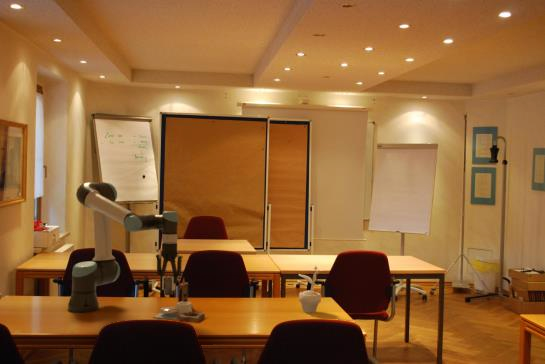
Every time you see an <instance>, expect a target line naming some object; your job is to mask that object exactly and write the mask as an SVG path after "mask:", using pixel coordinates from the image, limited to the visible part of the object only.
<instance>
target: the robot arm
mask: <svg viewBox="0 0 545 364" xmlns="http://www.w3.org/2000/svg"><path fill="white" fill-rule="evenodd" d="M75 195H76V200H77V201H78V202H79V203H80V204H82V206H84V207H86V208H88V209H90V210H92V211H93V231H94V233H93V234H94V235H93V236H94V257H93V258H92V260H90V261H89V260H88V261H81V262H78V263H75V264H74V265H73V267H72V272H71V275H72V276H71V278H72V279H71V281H72V282H71V284H72V285H71V295H70V298H69V301H68V303H67V310H68V311H70V312H73V313H89V312H94V311H97V310H99V309H100V302H99V300H98V297H97V287H98V286H102V285H108V284H112V283H114V282H116V281H117V279H118V278H119V276H120V274H121V268H120V264H119V262H117V261H116V257H115V256H114V255H113V254H112V253H113V251H112V249H113V248H112V246H113V245H112V224H111V221H112V220H114V221H116V222H117V223H119V224H121V225H123V226H124V229H125V230H126V231H127V232H130V233H131V232H132V233H136V232H140V231H141V232H143V231H151V230H152V231H154V230H159V231H161V234H162V236H161V252H160V254H156V255H155V257H156V274H157V275H158V276H160V283H161V286H162V287H161V290H162V291H164V279H165V278H166V277H167V276H166V271H167V266H168V263H169V262H170V265H171V270H172V276H171V277H172V290H173V291H175V290H176V285H177V283H178V277H179V276H180V277H181V276H182V261H183V258H184V256H183V255H180V254H179V253H178V226H179V225H178V224H179V218H178V217H179V216H178V215H179V214H178V212H177V211H173V210H165V211H162V214H154V213H147V214H140V215H139V214H136V213H135V212H133V211H131V210H129V209H127V208H126V207H124V206H122V205H121V204H118V203H116V200H117V198H118V192H117V189H116V187H115V186H114V185H113V184H112V183H109V182H104V181H103V182H102V181H101V182H84V183H82V184H81V185H79V186H78V188H77V190H76V194H75ZM162 259H163V261H162ZM176 259H177V261H176ZM176 262H177V264H176Z"/></svg>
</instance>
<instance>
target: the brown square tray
mask: <svg viewBox="0 0 545 364" xmlns="http://www.w3.org/2000/svg"><path fill="white" fill-rule="evenodd" d="M187 314H188V316H187ZM204 318H205V312H196V311H192V312H188V313H182V314H181V315H179V316H178V319H177V321H180V320H181V321H180V322H189V323H190V322H192V323H199V322H200V321H201V320H203V319H204Z"/></svg>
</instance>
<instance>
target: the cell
mask: <svg viewBox="0 0 545 364" xmlns="http://www.w3.org/2000/svg"><path fill="white" fill-rule="evenodd" d="M172 277H173V276H170V275H168V276H166V278H165V279H164V290H163V293H164V295H165V296H173V295H174V290H172Z"/></svg>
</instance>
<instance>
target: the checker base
mask: <svg viewBox="0 0 545 364" xmlns="http://www.w3.org/2000/svg"><path fill="white" fill-rule="evenodd" d="M178 316H179V315H176V314H162V313H160V312H159V313H157V314H155V315H154V316H152V319H153V318H154V319H160V320H169V321H170V320H171V321H178Z"/></svg>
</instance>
